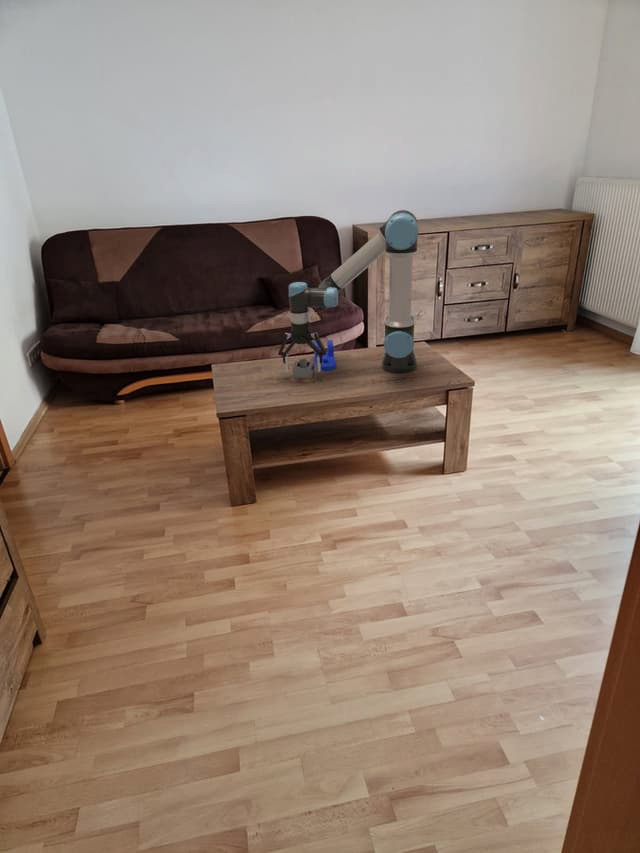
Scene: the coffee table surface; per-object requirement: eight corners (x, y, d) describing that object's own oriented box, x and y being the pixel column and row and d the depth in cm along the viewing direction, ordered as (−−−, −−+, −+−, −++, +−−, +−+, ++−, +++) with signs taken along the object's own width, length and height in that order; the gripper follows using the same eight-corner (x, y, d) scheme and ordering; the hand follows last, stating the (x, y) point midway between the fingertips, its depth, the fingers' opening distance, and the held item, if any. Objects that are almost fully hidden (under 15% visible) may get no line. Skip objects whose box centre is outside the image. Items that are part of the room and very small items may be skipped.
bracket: (314, 358, 263) (313, 339, 259) (332, 356, 264) (331, 338, 259) (318, 371, 247) (317, 352, 243) (337, 370, 248) (336, 350, 243)
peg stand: (317, 373, 245) (316, 355, 241) (314, 382, 236) (312, 364, 232) (294, 373, 246) (293, 355, 242) (290, 382, 237) (289, 364, 234)
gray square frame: (314, 371, 243) (314, 360, 241) (312, 378, 236) (311, 367, 234) (296, 371, 245) (295, 361, 242) (293, 378, 237) (292, 367, 235)
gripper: (331, 318, 231) (333, 367, 241) (272, 319, 235) (276, 367, 245) (329, 323, 225) (331, 373, 234) (268, 324, 228) (273, 373, 238)
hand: (303, 370), depth 239 cm, fingers open, 13 cm apart
